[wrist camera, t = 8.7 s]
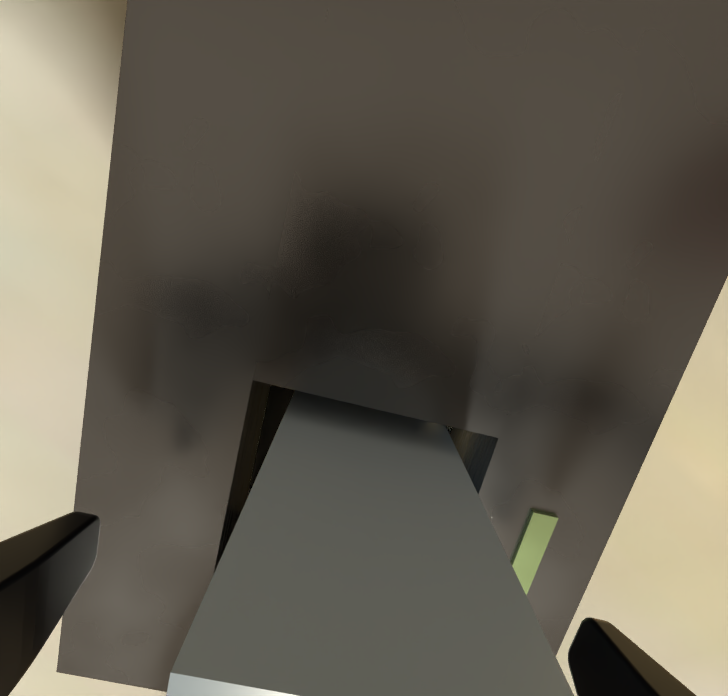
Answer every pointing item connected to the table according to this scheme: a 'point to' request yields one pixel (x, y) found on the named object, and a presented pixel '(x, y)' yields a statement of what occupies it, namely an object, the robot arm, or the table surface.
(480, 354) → the jack panel
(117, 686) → the table surface
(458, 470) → the plug
